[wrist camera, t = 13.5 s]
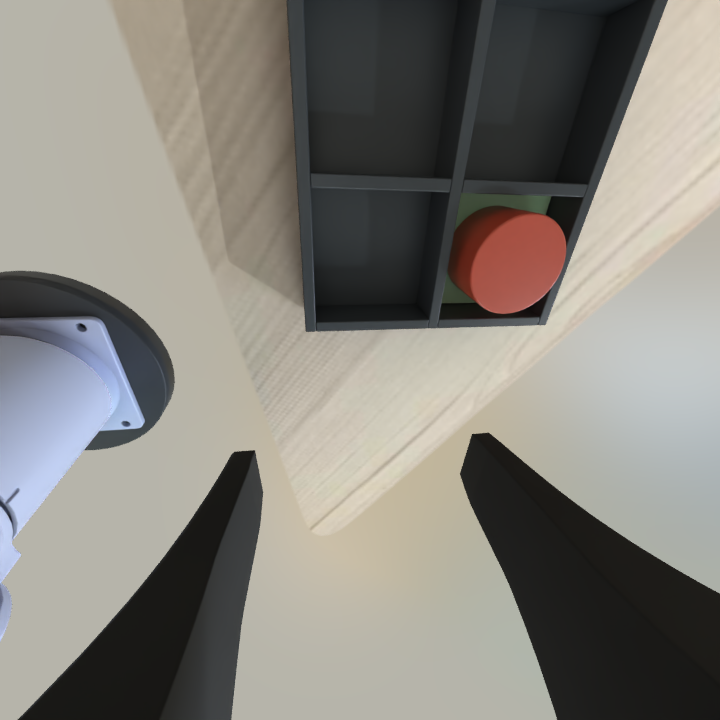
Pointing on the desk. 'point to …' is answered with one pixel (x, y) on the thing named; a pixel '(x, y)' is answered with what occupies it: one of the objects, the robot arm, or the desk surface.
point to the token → (506, 257)
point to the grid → (447, 140)
